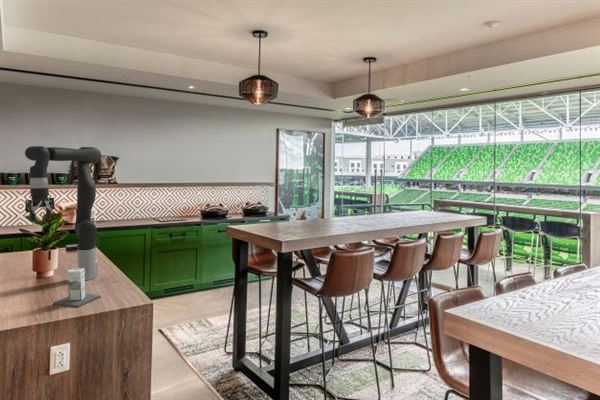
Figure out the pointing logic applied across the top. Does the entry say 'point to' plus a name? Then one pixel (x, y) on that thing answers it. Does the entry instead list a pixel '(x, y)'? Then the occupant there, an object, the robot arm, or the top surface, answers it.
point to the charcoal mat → (77, 301)
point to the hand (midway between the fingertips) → (41, 219)
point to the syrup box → (76, 284)
